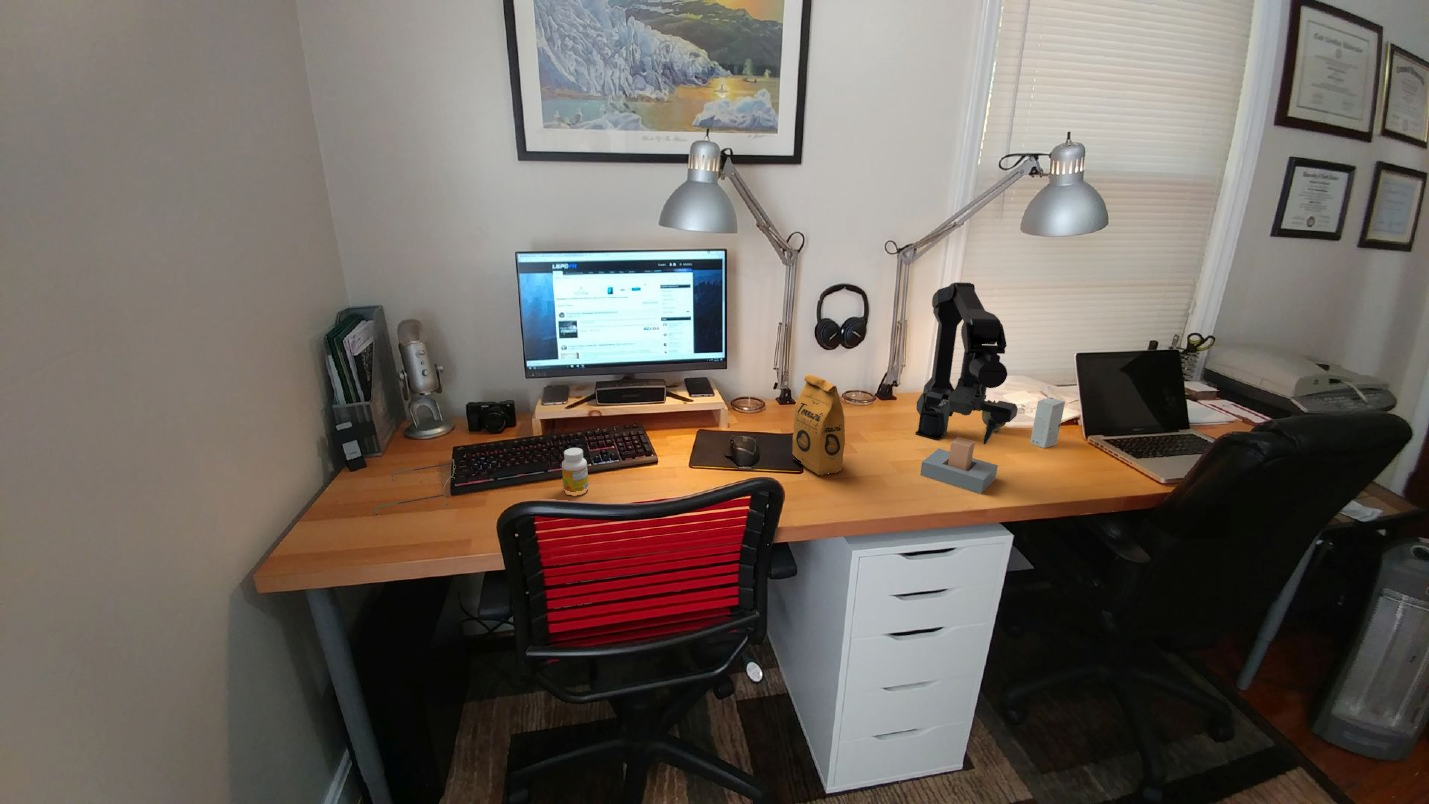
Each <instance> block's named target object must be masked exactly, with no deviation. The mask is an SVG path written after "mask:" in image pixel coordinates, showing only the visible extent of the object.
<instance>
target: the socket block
mask: <svg viewBox="0 0 1429 804" xmlns="http://www.w3.org/2000/svg"><path fill="white" fill-rule="evenodd" d="M949 455H950V450H946V449H942V448H937V449H936V450H934V452H932V453H931V454H930V455H929V456H927V457H926V458H924V459H923V460H922V462H921V466H920V474H919V475H920V476H921V477H922V476H923V477H925V478H928V479H932V480H935V481H938V482H941V481H942V483H945V484H949V485H951V484H952V485H951V486H954V487H958V488H960V487H961V488H960V489H964V490H966V489H968V490H967V491H970V492H974V493H976V492H977V494H979V495H982V494H983V493H984V492H985V491H986V490H987V488H988V487H989V486H991V484H992V483H993V482H994V481H995V480H996V477H997V472H998V468H999V465H998V464H996V463H995V464H994V463H991V462H989V461H988V462H987V461H984V460H982V459H977V458H975V457H972V462H971V468H970V470H969V471H965V470H961V469H958V468H955V467H951V466H948V461H949ZM982 492H983V493H982Z"/></svg>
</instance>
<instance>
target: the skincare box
mask: <svg viewBox="0 0 1429 804" xmlns="http://www.w3.org/2000/svg"><path fill="white" fill-rule="evenodd" d="M1065 404H1066V401H1065V400H1061V399H1058V398H1054V397H1048V398H1047V397H1046V398H1043V399H1040V400H1038V401H1037V405H1036V410H1035V416H1034V419H1033V420H1034V421H1033V424H1032V425H1033V426H1032V431H1031V437H1030V442H1029V443H1030V444H1032V445H1034V446H1037V447H1039V448H1042V449H1047V448H1050V447H1053V446H1055V445H1057V443H1058V439H1059V435H1060V429H1061V424H1062V420H1063V415H1064V414H1063V413H1064V410H1065V409H1064V408H1065Z"/></svg>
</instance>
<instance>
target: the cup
mask: <svg viewBox="0 0 1429 804" xmlns="http://www.w3.org/2000/svg"><path fill="white" fill-rule="evenodd" d="M985 402H986V403H990V404H996V403H997V402H996V399H995V400H993V401H991V400H990V399H987V400H985ZM990 414H991V413H990V412H986V411H982V410H981V416H982V417H981V419H982V422H983V424H985V429H986V430H987V427H988V419H990V418H991V415H990ZM1006 423H1007V422H1004V423H1003V424H999V425H998V426H997V428H996V429H995V431H994V432H993V434H994V433H999V432H1000V430H1001V428H1002V427H1004V426H1005V425H1007V424H1006ZM986 430H985V431H986Z"/></svg>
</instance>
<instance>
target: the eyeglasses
mask: <svg viewBox="0 0 1429 804" xmlns="http://www.w3.org/2000/svg"><path fill="white" fill-rule="evenodd" d="M452 463H453V464H452ZM449 465H452V475H450V476H449V477H448V479H447V480H446V481H445V483H444V485H443V488H442V494H439V495H433V496H427V497H421V498H416V499H412V500H404V501H398V502H392V503H387V504H382V505H377V506H375V508H374V512H373V514H375V513H377V514H378V512H377V510H378V509H379V508H384V507H391V506H395V505H400V504H406V503H411V502H417V501H422V500H429V499H434V498H439V497H443V501H444V502H445V505H447V503H448V502H447V500H446V496H445V486H446V484H447V483H448V482H449V480H450V479H451V478H454V473H455V469H456V467H455V468H454V466H455V460H454V458H452V462H449V463H443V464H437V465H432V466H425V467H420V468H412V469H406V470H400V471H395V472H393V473H392V475H391V479H392V478H394V479H395V477H394V476H395V475H396V474H397V475H398V474H403V473H408V472H413V471H420V470H426V469H432V468H436V467H443V466H444V467H445V466H449Z"/></svg>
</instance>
